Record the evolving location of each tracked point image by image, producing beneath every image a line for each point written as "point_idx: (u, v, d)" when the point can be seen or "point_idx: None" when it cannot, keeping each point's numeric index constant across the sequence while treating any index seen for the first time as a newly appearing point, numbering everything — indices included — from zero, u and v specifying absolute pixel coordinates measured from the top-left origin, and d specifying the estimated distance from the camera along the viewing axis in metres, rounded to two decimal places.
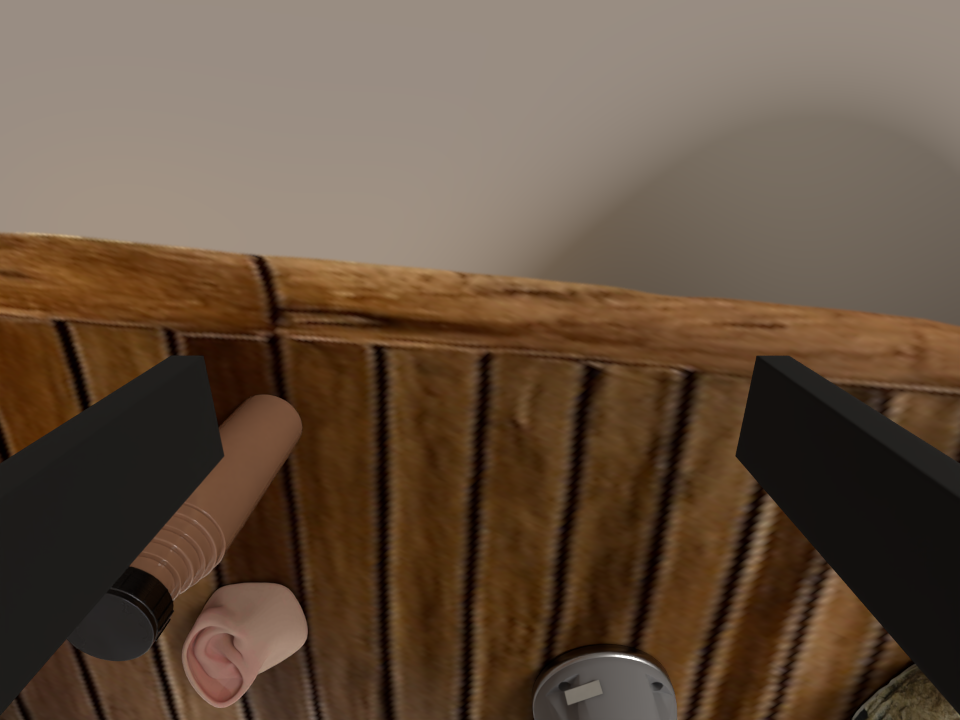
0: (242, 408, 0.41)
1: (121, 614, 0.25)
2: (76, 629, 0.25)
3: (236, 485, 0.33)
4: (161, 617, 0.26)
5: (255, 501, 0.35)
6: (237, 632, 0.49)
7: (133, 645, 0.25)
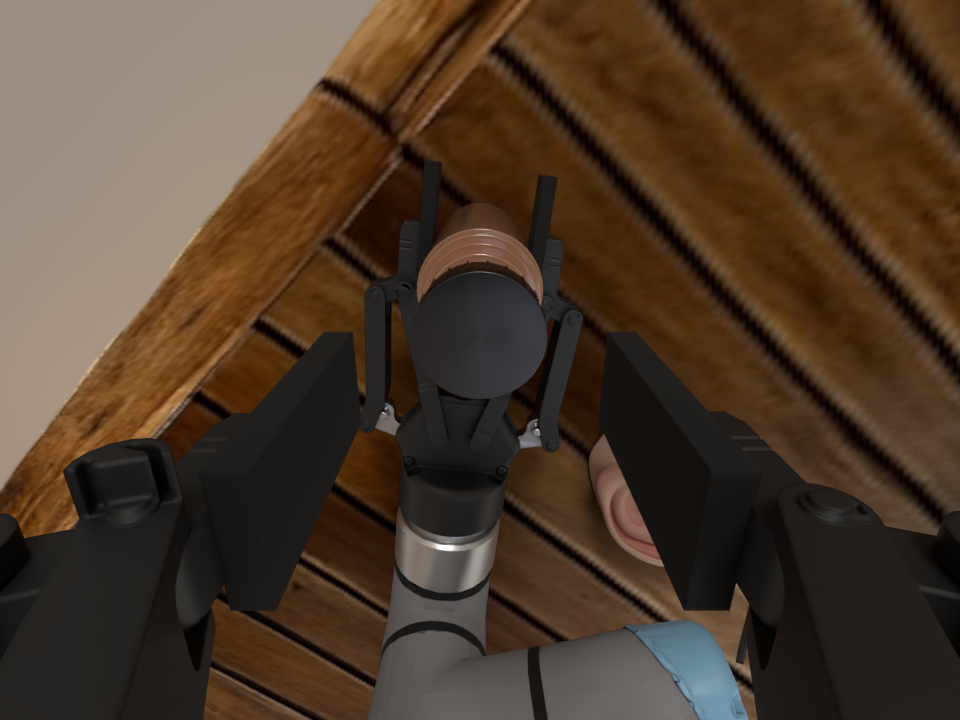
0: None
1: (478, 300, 0.17)
2: (454, 371, 0.18)
3: (487, 220, 0.25)
4: (525, 283, 0.17)
5: (523, 240, 0.27)
6: None
7: (526, 336, 0.17)
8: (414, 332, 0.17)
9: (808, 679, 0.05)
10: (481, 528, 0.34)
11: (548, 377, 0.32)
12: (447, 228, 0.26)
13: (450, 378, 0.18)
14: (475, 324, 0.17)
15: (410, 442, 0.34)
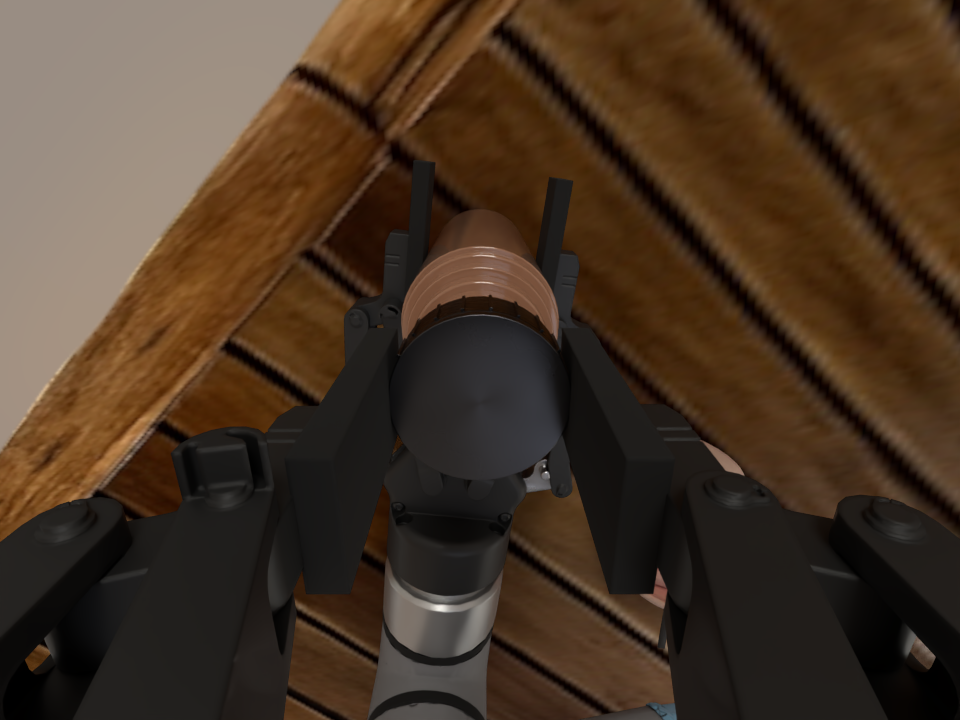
0: None
1: (478, 353, 0.12)
2: (445, 445, 0.13)
3: (489, 234, 0.20)
4: (541, 327, 0.13)
5: (532, 256, 0.22)
6: None
7: (543, 400, 0.13)
8: (390, 395, 0.13)
9: (711, 662, 0.05)
10: (481, 585, 0.29)
11: None
12: (440, 242, 0.22)
13: (440, 454, 0.13)
14: (473, 384, 0.12)
15: (399, 486, 0.29)
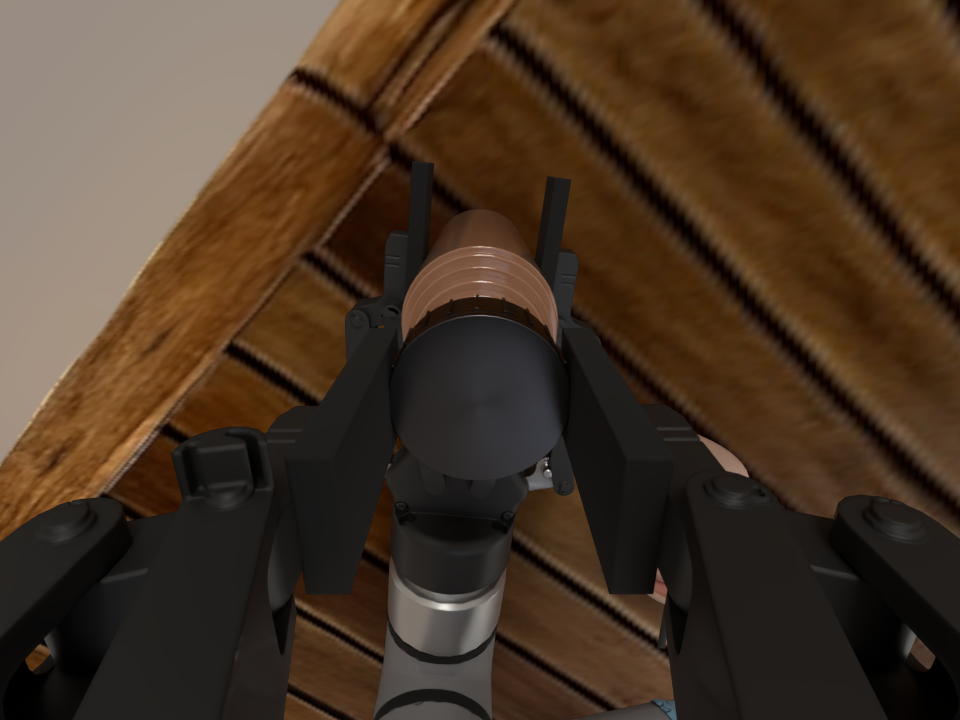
0: None
1: (439, 433, 0.13)
2: (538, 402, 0.13)
3: (488, 234, 0.21)
4: None
5: (531, 255, 0.22)
6: None
7: (435, 359, 0.12)
8: (525, 467, 0.13)
9: (711, 662, 0.05)
10: (485, 584, 0.30)
11: None
12: (439, 243, 0.22)
13: (551, 399, 0.13)
14: (467, 419, 0.13)
15: (402, 486, 0.29)
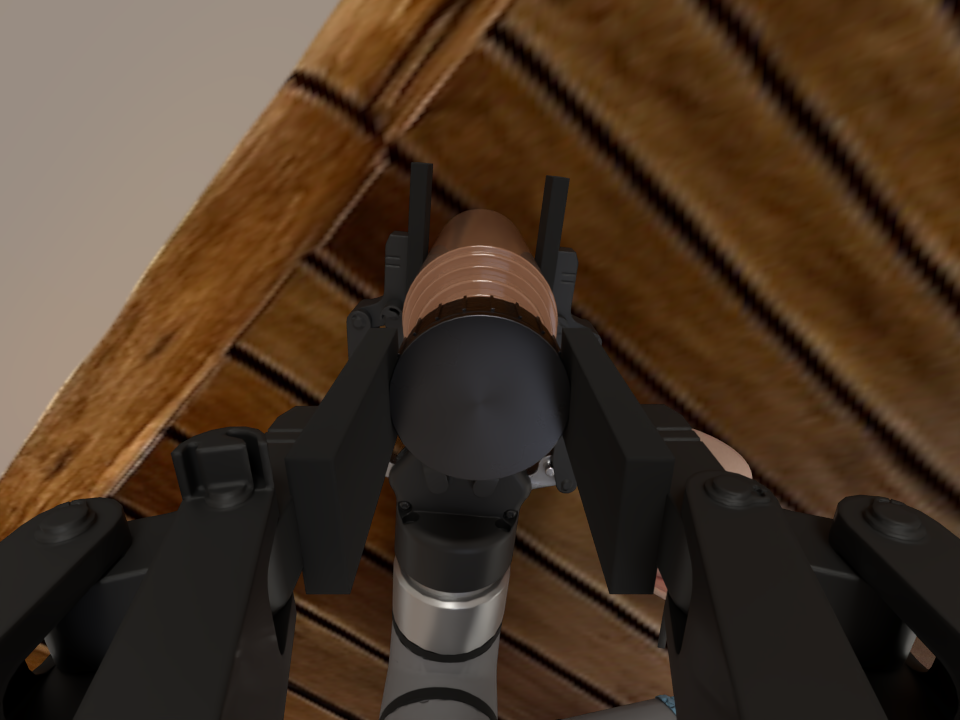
0: None
1: (531, 413, 0.13)
2: (440, 361, 0.12)
3: (487, 233, 0.21)
4: None
5: (531, 254, 0.22)
6: None
7: (468, 457, 0.13)
8: (511, 322, 0.12)
9: (711, 662, 0.05)
10: (489, 582, 0.30)
11: None
12: (439, 243, 0.22)
13: (430, 352, 0.12)
14: (501, 402, 0.13)
15: (405, 485, 0.30)
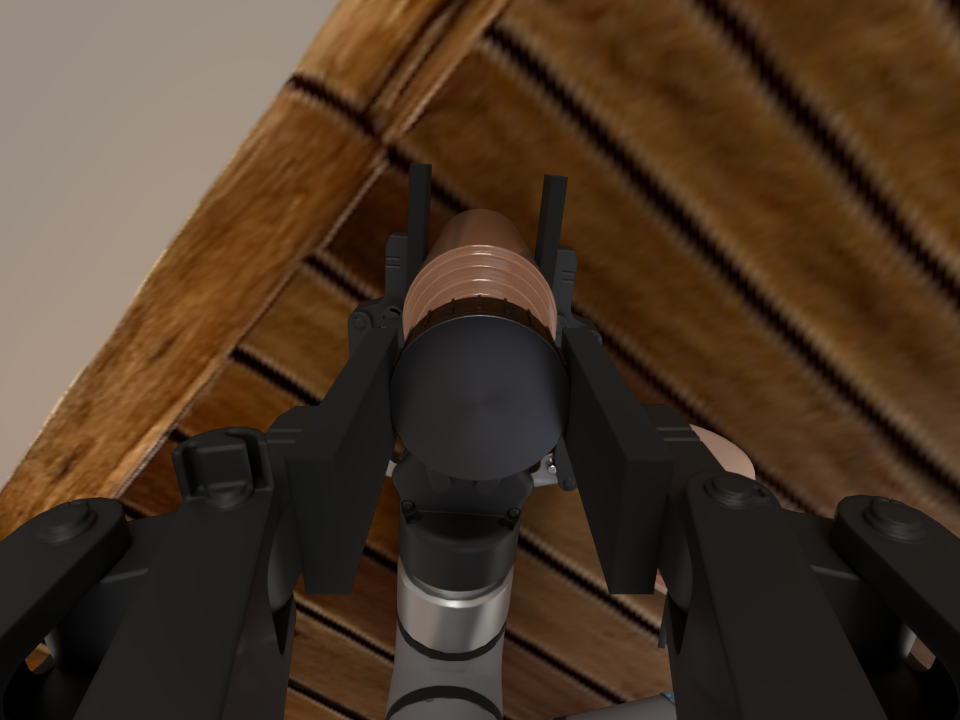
0: None
1: (455, 359, 0.12)
2: (467, 454, 0.13)
3: (486, 233, 0.21)
4: (507, 309, 0.12)
5: (530, 253, 0.22)
6: None
7: (537, 377, 0.12)
8: (396, 428, 0.13)
9: (711, 661, 0.05)
10: (493, 580, 0.30)
11: None
12: (439, 243, 0.22)
13: (466, 464, 0.13)
14: (465, 389, 0.12)
15: (408, 485, 0.30)
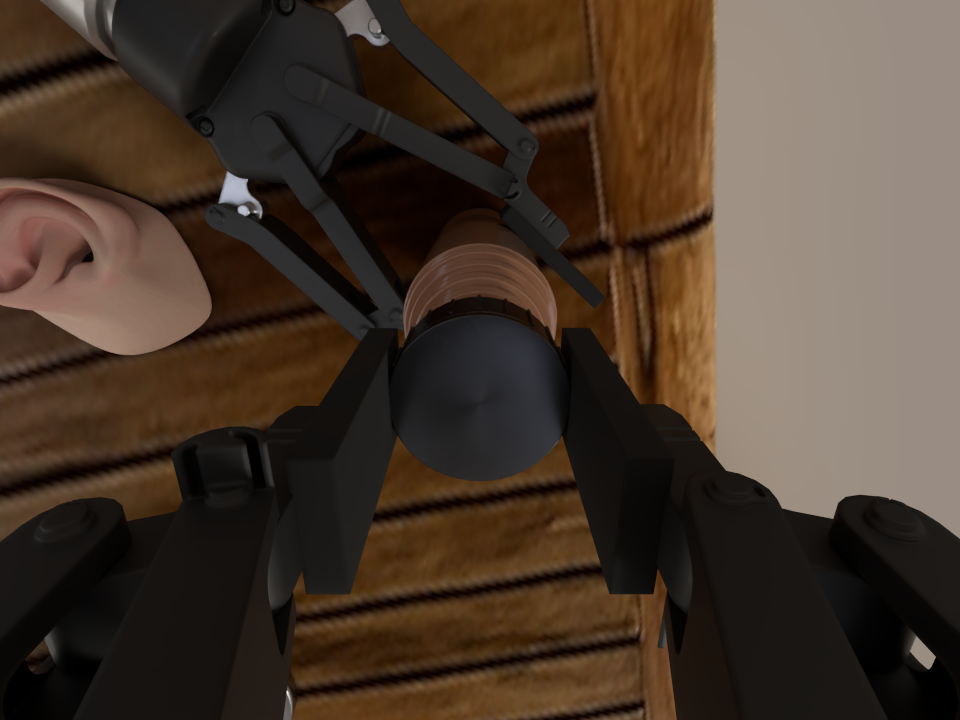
0: None
1: (455, 359, 0.12)
2: (467, 454, 0.13)
3: None
4: (507, 309, 0.12)
5: None
6: (110, 272, 0.30)
7: (537, 377, 0.12)
8: (396, 428, 0.13)
9: (711, 662, 0.05)
10: (119, 41, 0.20)
11: (311, 268, 0.25)
12: None
13: (466, 464, 0.13)
14: (465, 389, 0.12)
15: (314, 32, 0.22)
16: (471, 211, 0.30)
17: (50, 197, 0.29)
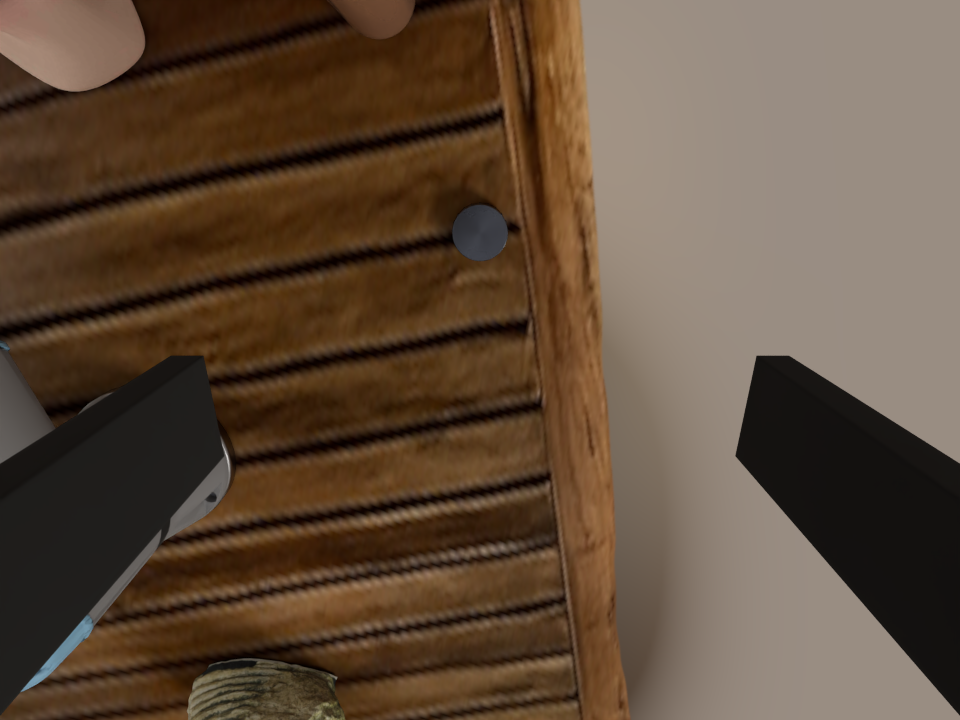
0: None
1: (472, 218, 0.41)
2: (476, 251, 0.42)
3: None
4: (488, 204, 0.42)
5: (348, 0, 0.29)
6: None
7: (497, 224, 0.42)
8: (454, 242, 0.42)
9: None
10: None
11: None
12: None
13: (476, 254, 0.43)
14: (475, 228, 0.42)
15: None
16: None
17: None
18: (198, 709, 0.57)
